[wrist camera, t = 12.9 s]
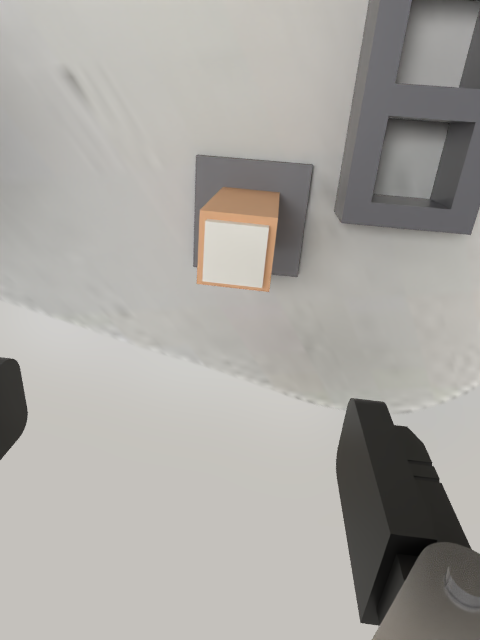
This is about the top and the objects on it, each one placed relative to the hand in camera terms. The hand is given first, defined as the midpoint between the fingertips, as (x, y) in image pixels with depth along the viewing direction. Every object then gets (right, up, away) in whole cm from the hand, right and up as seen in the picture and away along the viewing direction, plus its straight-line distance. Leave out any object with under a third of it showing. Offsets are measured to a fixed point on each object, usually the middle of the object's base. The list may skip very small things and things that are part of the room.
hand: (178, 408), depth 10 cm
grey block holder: (+13, +16, +16) cm, 26 cm away
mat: (+2, +10, +20) cm, 23 cm away
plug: (+2, +10, +20) cm, 22 cm away
